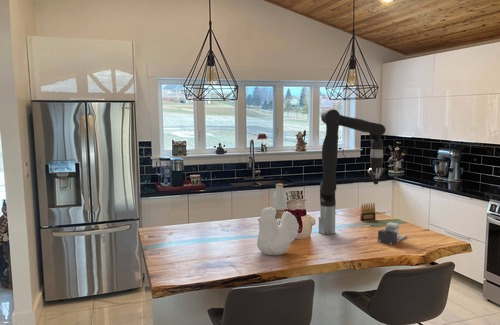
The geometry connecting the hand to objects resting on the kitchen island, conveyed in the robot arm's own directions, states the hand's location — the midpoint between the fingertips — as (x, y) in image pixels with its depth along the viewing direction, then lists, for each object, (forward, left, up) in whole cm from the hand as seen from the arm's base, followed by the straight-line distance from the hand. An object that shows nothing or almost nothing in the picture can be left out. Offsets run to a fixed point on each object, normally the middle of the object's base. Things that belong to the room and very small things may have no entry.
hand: (375, 184), depth 246 cm
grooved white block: (-9, -24, -28) cm, 38 cm away
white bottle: (-50, +33, -29) cm, 67 cm away
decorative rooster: (-74, -11, -29) cm, 80 cm away
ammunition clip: (+12, +20, -29) cm, 37 cm away
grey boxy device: (-8, -24, -29) cm, 38 cm away
